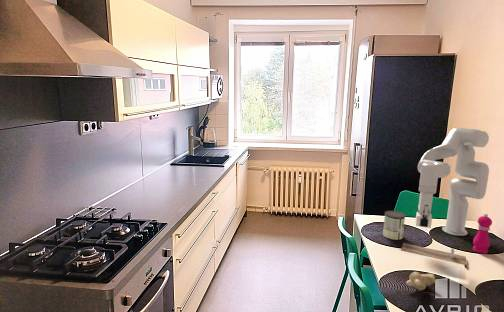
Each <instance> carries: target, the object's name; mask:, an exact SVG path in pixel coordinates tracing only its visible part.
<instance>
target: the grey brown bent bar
mask: <svg viewBox="0 0 504 312" xmlns="http://www.w3.org/2000/svg"><path fill="white" fill-rule="evenodd" d="M400 251H401V252H402V251H403V252H406V253H410V254H416V255H420V256H424V257H430V258H433V259H437V260H440V261H441V260H442V261H446V262H451V263H453V264H454V263H455V264H459V265H464V268H465V269H467V267H468V263H467V256H464V255H462V254H461V255H460V254H455V253H454V257H453V259H450V254H451V252H447V251H443V250H438V249H432V248H429V247H424V246H419V245H414V244H410V243H406V242H403V243H402V246H401V248H400Z"/></svg>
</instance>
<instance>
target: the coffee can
mask: <svg viewBox="0 0 504 312" xmlns="http://www.w3.org/2000/svg"><path fill="white" fill-rule="evenodd" d="M383 220H384V221H383V230H382V235H383V237H385V238H387V239H390V240H397V241H398V240H402V239H403V237H404V230H405V229H404V228H405V220H406V214H405V213H403V212H401V211H397V210H386V211H384V219H383Z"/></svg>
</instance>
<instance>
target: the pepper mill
mask: <svg viewBox="0 0 504 312" xmlns="http://www.w3.org/2000/svg"><path fill="white" fill-rule="evenodd" d="M488 216H489V214H488V213H484V214H483V215H482V216H479V217H478V219H477V223H478V225H477V229H478V231H477V234H475V236H474V238H472V240H473V241H472V244H473V246H472V250H473V252H475V253H478V254H481V255H484V254H485V255H486V254H488V252H489V249H488V248H489V247H490V246H491V242H490V239H489V234H488V233H489V231H490V230H491V229H490V228H491V226H492V225H493V220H492V219H491V217H488Z"/></svg>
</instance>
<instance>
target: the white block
mask: <svg viewBox="0 0 504 312" xmlns="http://www.w3.org/2000/svg"><path fill="white" fill-rule="evenodd" d="M415 213H416V215H415V226H416V227H422V226H420V220H421V218H422V213H421V212H419V211H416V212H415ZM423 215H424V214H423ZM432 221H433V215H432V214H431V213H429V214H428V226H427V227H426V228H427V229H431V228H432ZM422 228H423V227H422Z"/></svg>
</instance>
